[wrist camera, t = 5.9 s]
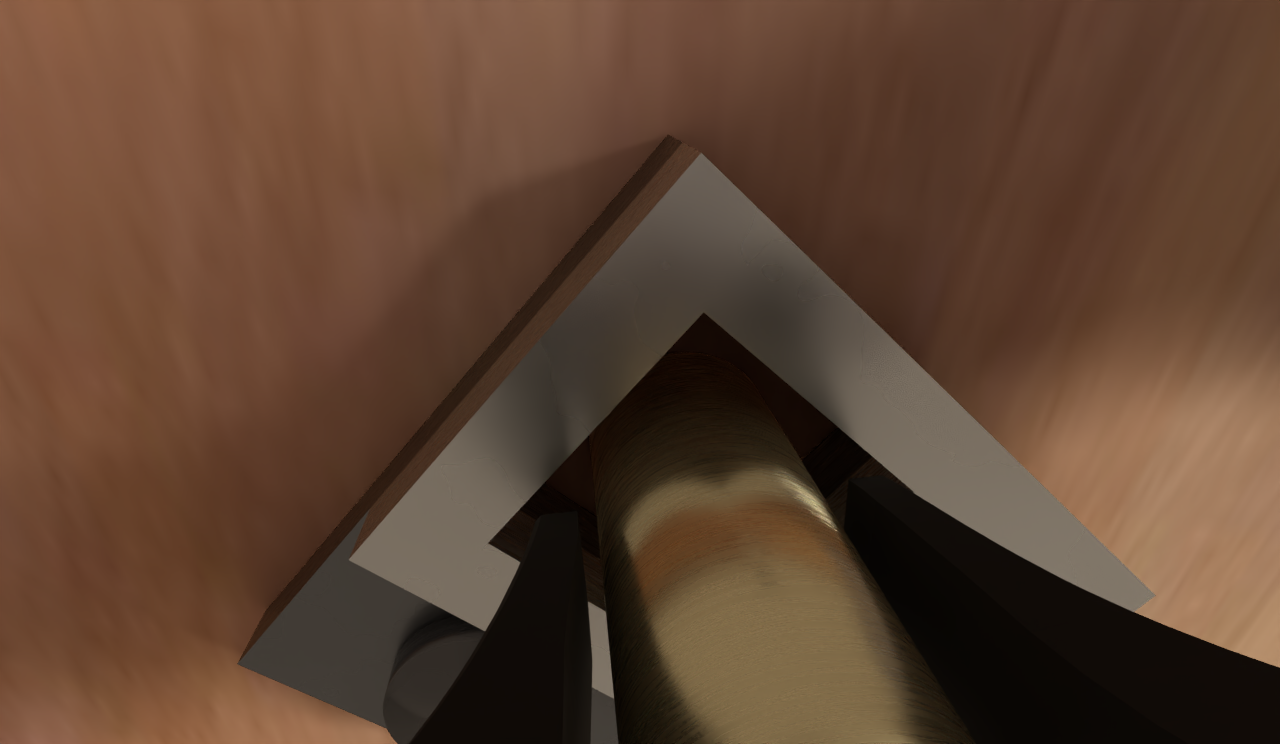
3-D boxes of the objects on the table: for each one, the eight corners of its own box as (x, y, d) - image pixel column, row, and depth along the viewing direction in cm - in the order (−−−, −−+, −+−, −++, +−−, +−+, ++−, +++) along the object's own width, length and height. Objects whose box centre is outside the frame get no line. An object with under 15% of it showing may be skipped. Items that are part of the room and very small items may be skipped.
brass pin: (801, 420, 15) (1090, 842, 7) (681, 534, 16) (812, 1017, 8) (675, 315, 14) (856, 694, 5) (551, 446, 15) (551, 932, 6)
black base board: (668, 134, 12) (692, 147, 10) (949, 405, 15) (1011, 458, 13) (265, 611, 15) (220, 696, 13) (565, 752, 19) (567, 838, 17)
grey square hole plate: (387, 467, 14) (334, 592, 11) (668, 134, 12) (713, 159, 9) (808, 716, 19) (864, 857, 16) (1059, 512, 17) (1187, 623, 14)
